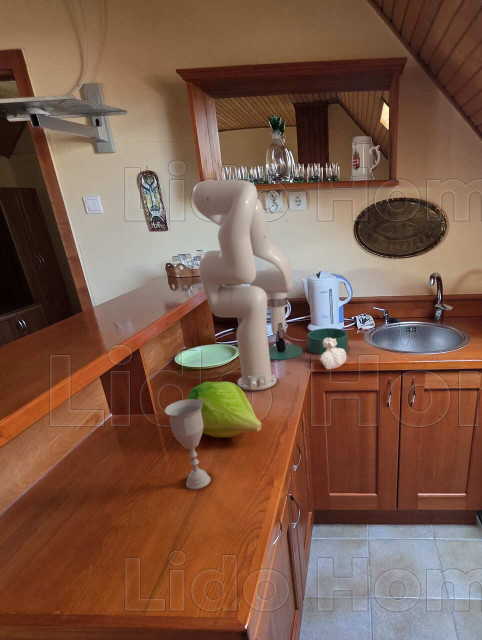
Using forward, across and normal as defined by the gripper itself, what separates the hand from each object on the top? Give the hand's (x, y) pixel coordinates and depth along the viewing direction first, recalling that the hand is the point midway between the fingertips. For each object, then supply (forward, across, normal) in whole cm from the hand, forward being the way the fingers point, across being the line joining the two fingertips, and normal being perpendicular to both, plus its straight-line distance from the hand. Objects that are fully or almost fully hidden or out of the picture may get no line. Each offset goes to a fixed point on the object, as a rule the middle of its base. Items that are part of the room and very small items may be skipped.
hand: (281, 348), depth 162 cm
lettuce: (+2, +57, -20) cm, 60 cm away
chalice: (+2, +76, -26) cm, 80 cm away
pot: (+2, 0, +18) cm, 19 cm away
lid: (+1, 0, 0) cm, 1 cm away
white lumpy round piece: (+2, +18, +16) cm, 24 cm away
